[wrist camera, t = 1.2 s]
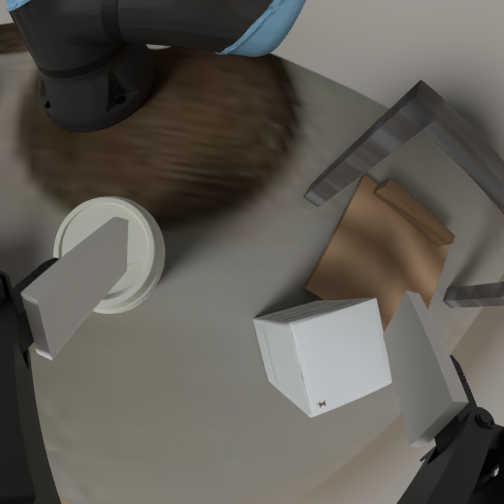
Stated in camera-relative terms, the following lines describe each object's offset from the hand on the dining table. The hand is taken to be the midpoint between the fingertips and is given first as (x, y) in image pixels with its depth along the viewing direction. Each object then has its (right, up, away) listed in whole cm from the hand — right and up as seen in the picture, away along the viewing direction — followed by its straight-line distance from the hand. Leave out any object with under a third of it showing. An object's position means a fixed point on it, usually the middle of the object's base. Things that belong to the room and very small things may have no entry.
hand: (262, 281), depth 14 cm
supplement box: (+4, -8, +20) cm, 22 cm away
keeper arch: (+16, 0, +23) cm, 28 cm away
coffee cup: (-13, 0, +18) cm, 22 cm away
